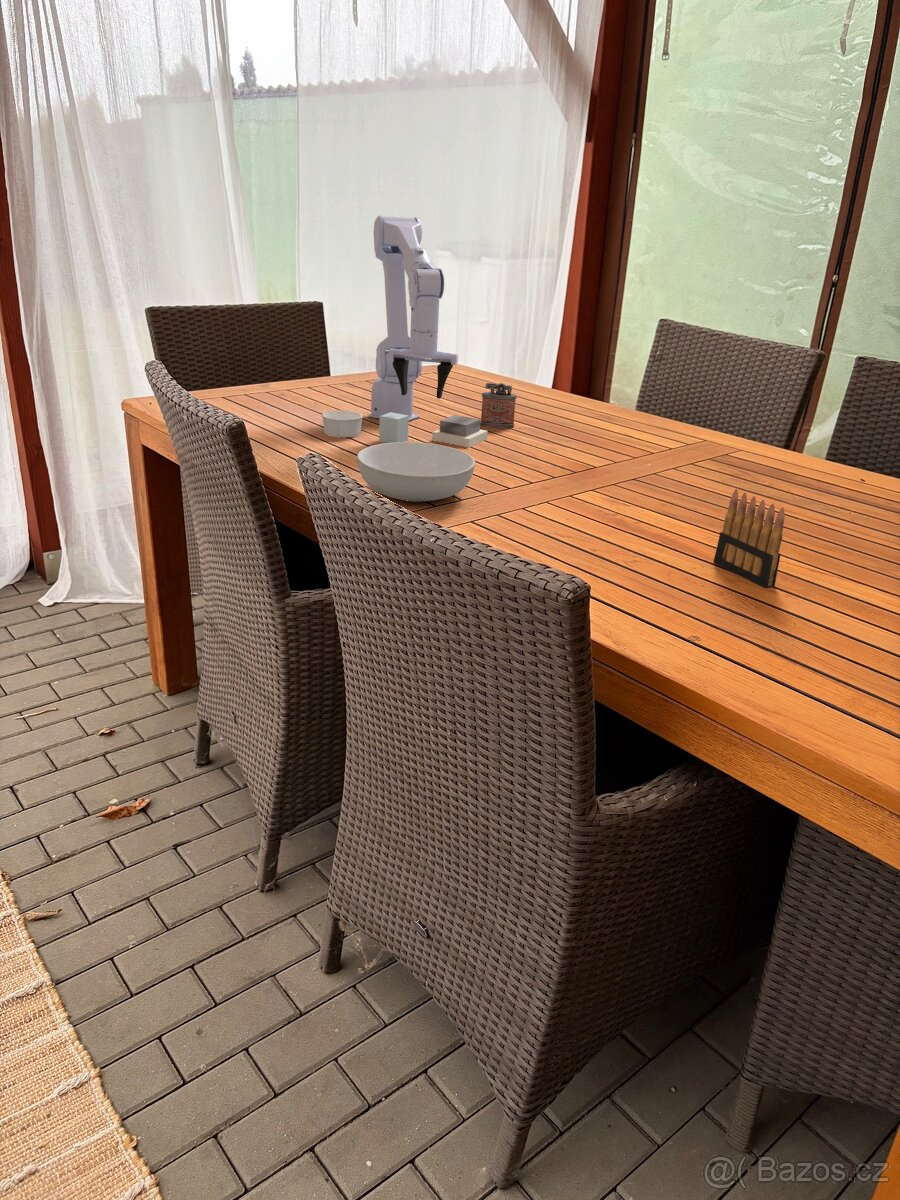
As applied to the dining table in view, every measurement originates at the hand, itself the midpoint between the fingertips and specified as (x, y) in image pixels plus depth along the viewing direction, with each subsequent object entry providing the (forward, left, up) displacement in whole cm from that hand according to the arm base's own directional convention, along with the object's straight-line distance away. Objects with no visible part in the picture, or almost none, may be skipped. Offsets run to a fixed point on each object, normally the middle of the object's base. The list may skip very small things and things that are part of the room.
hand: (421, 396), depth 190 cm
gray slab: (+7, +6, -8) cm, 12 cm away
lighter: (+8, +23, -10) cm, 26 cm away
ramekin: (-16, -6, -10) cm, 20 cm away
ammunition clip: (+77, -36, -10) cm, 85 cm away
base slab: (+7, +6, -10) cm, 14 cm away
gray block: (-4, -4, -10) cm, 11 cm away
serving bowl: (+18, -33, -10) cm, 39 cm away
